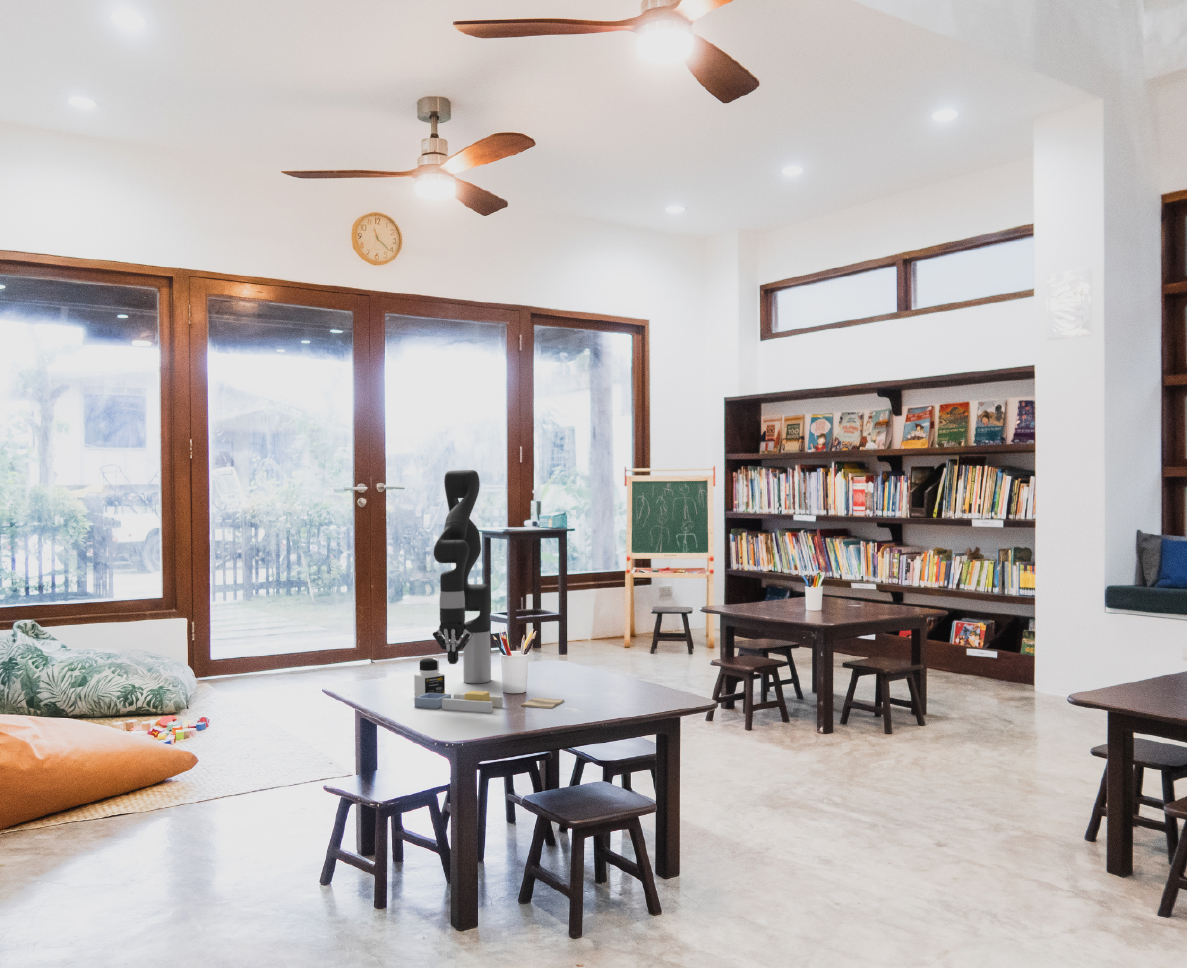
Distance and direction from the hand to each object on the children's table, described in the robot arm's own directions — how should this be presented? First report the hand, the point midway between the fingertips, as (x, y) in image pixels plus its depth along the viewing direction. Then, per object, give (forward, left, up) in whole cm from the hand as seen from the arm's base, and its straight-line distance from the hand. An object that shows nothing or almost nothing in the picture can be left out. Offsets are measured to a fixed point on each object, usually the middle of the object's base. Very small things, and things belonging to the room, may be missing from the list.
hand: (452, 663), depth 282 cm
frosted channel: (0, +6, -13) cm, 15 cm away
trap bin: (0, -7, -13) cm, 15 cm away
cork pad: (-11, +24, -13) cm, 30 cm away
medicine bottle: (-11, -15, -13) cm, 22 cm away
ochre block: (0, +8, -13) cm, 15 cm away
